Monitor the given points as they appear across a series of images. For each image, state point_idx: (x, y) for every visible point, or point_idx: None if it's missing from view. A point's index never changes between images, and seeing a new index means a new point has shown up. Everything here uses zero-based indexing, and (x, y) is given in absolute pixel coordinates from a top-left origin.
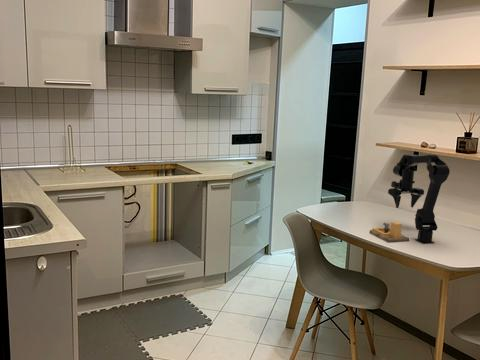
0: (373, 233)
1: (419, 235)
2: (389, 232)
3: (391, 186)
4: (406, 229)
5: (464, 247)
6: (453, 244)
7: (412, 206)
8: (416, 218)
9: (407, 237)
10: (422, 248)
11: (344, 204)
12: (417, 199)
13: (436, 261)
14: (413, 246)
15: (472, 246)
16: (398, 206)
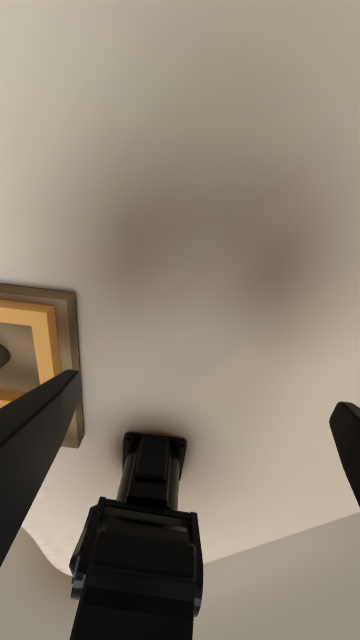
0: None
1: (122, 474)
2: (21, 357)
3: None
4: (240, 282)
5: (252, 525)
6: (245, 501)
7: (334, 438)
8: (74, 573)
9: (74, 440)
10: (83, 492)
11: None
12: None
13: (48, 553)
14: (62, 472)
15: (292, 528)
16: (66, 422)
